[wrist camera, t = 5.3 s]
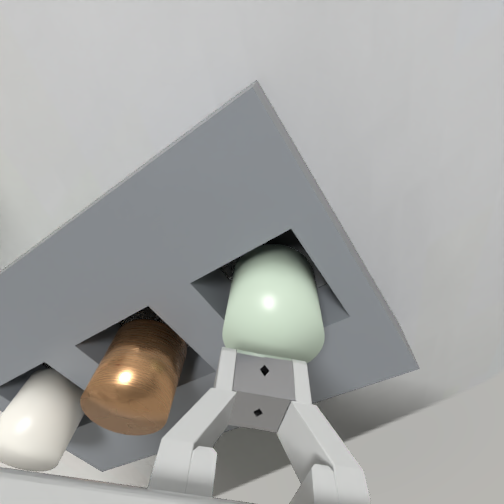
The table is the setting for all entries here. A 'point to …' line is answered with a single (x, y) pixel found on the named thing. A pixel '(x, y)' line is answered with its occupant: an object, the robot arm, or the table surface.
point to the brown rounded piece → (136, 379)
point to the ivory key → (40, 421)
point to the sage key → (274, 305)
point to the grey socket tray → (190, 272)
